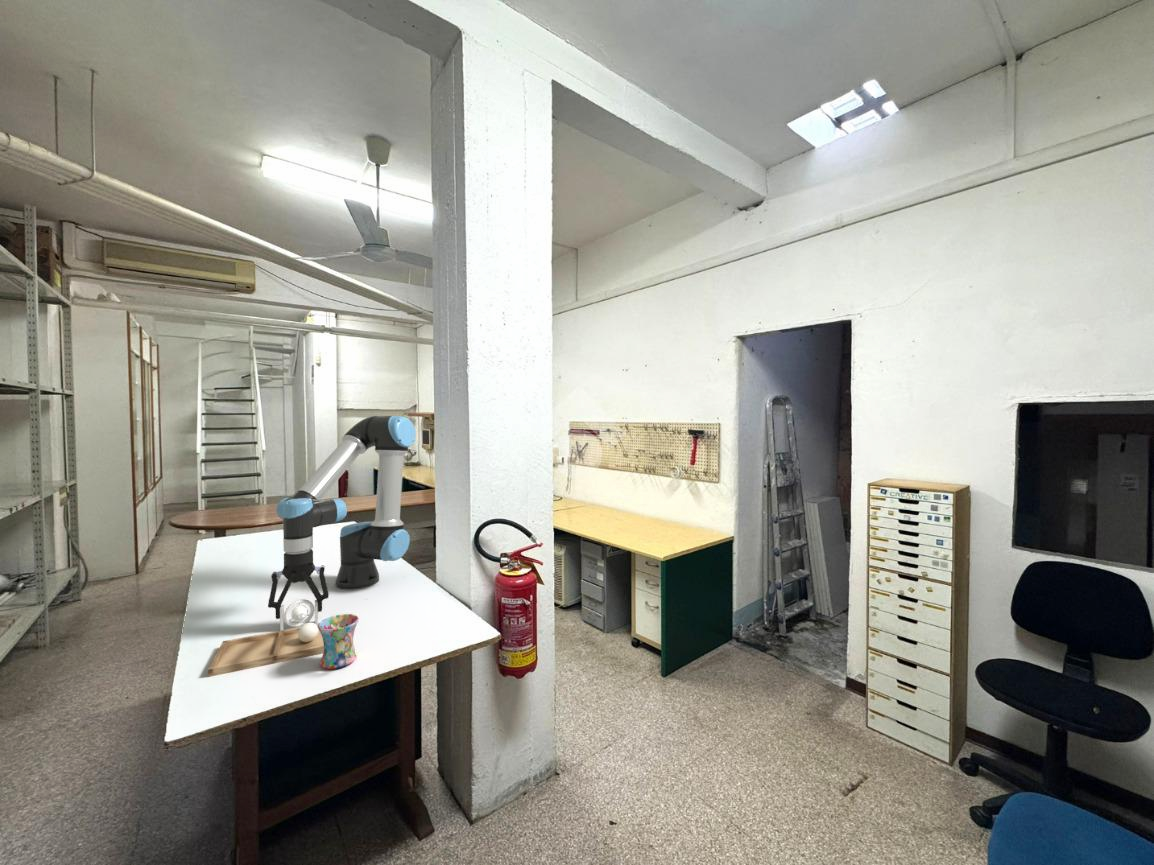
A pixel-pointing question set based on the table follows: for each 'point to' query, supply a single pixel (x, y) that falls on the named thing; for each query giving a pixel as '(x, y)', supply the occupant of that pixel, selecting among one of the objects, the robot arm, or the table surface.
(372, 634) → the table surface
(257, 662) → the divided wooden tray
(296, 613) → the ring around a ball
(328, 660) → the floral vase
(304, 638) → the ceramic egg
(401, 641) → the table surface
